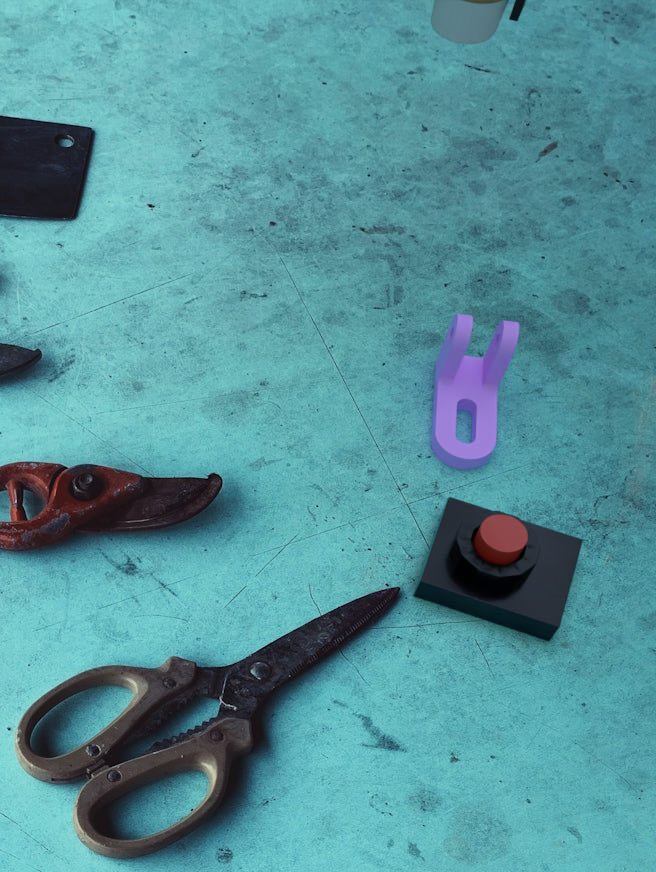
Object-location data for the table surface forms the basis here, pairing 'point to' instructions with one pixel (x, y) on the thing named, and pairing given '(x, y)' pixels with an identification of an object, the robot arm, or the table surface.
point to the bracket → (469, 392)
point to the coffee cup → (467, 19)
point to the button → (500, 539)
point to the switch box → (499, 573)
